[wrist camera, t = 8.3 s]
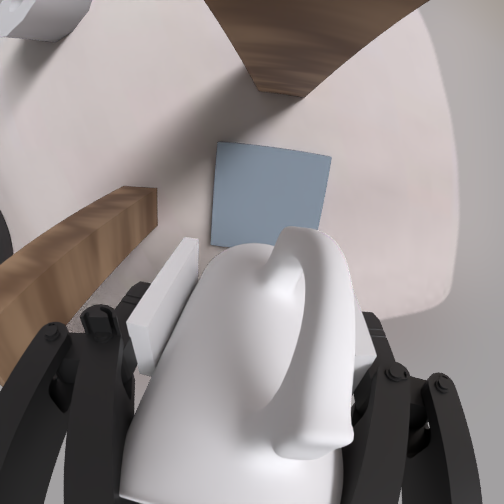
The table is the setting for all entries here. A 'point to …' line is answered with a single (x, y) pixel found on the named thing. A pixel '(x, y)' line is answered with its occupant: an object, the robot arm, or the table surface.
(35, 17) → the toilet tissue
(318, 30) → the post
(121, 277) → the table surface
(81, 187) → the table surface
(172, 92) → the table surface
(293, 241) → the mug
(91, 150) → the table surface
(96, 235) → the corner post
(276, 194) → the mat
